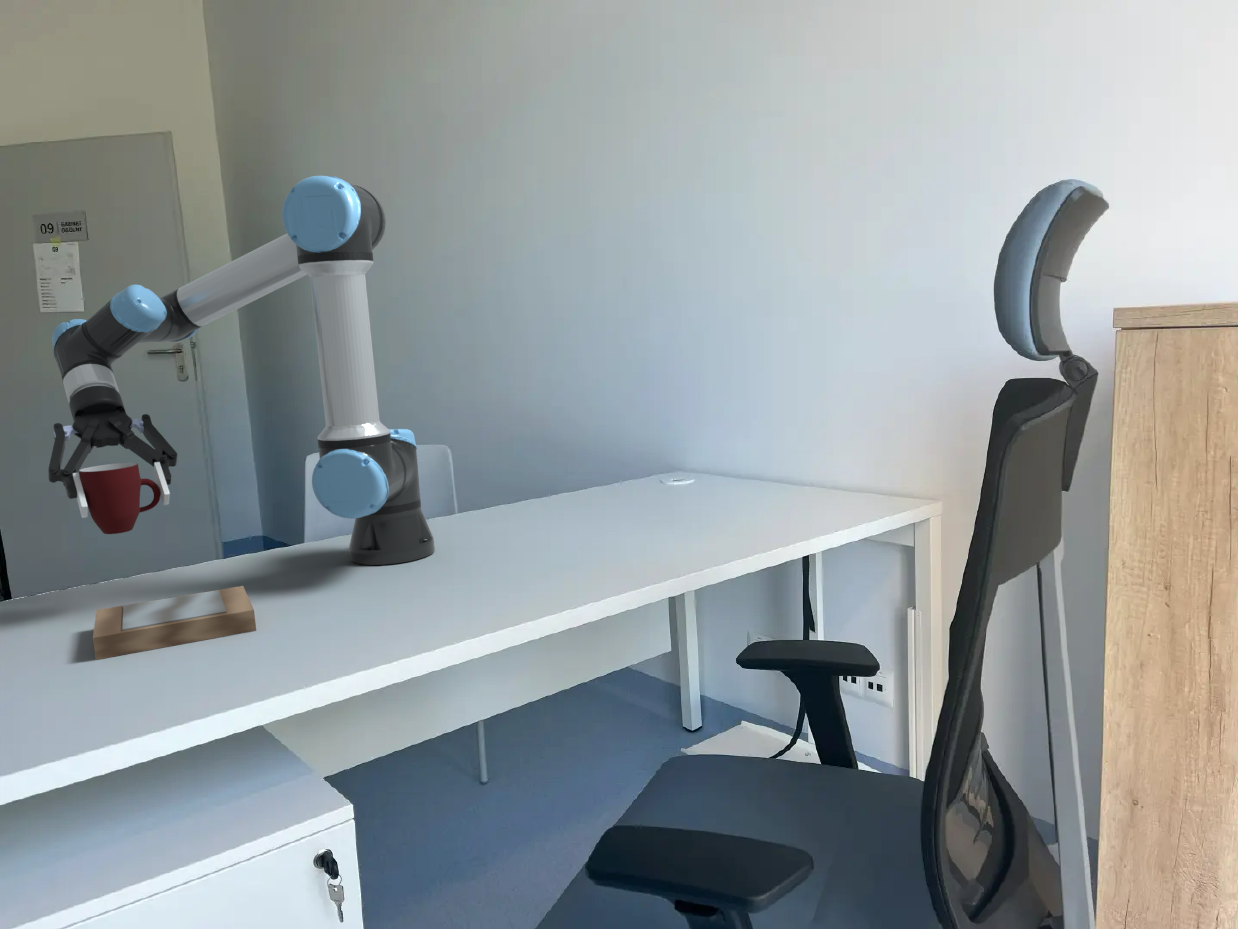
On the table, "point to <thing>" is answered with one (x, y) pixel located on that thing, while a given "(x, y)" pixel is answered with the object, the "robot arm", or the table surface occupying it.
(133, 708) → the table surface
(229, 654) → the table surface
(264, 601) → the table surface
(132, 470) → the mug
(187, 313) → the robot arm
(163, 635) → the plinth
